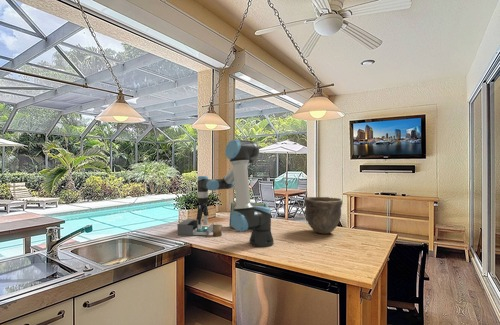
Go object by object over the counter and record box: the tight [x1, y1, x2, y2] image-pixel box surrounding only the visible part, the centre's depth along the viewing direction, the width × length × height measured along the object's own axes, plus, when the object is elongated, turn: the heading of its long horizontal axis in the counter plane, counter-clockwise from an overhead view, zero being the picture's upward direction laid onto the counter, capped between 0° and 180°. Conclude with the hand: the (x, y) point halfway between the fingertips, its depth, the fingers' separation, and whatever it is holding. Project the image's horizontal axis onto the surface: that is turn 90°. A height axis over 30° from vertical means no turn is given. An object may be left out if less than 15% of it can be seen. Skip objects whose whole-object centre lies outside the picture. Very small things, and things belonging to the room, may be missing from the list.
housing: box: [176, 218, 198, 237], centre depth 198 cm, size 19×13×8 cm
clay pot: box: [304, 196, 343, 235], centre depth 197 cm, size 26×26×25 cm
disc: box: [197, 225, 209, 232], centre depth 197 cm, size 8×8×2 cm
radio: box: [228, 198, 269, 231], centre depth 210 cm, size 30×8×25 cm, turn 73°
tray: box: [193, 222, 215, 236], centre depth 197 cm, size 17×12×5 cm
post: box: [212, 223, 223, 238], centre depth 190 cm, size 6×6×7 cm
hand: (202, 226), depth 197 cm, fingers open, 13 cm apart
